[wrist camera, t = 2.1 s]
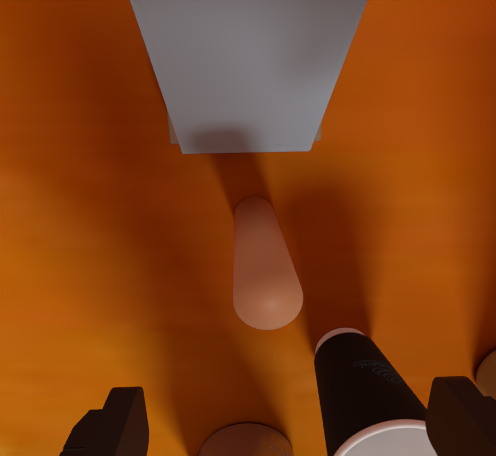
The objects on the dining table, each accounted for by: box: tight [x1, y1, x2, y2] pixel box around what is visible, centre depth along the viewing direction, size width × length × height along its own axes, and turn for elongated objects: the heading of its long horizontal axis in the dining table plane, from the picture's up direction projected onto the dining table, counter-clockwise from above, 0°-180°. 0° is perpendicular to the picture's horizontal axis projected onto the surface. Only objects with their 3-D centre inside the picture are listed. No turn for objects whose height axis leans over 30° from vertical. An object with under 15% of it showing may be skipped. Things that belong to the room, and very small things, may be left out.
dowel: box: [233, 197, 303, 330], centre depth 21 cm, size 3×3×12 cm
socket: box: [130, 0, 367, 154], centre depth 16 cm, size 12×9×14 cm
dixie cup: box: [314, 328, 437, 456], centre depth 26 cm, size 8×8×11 cm
